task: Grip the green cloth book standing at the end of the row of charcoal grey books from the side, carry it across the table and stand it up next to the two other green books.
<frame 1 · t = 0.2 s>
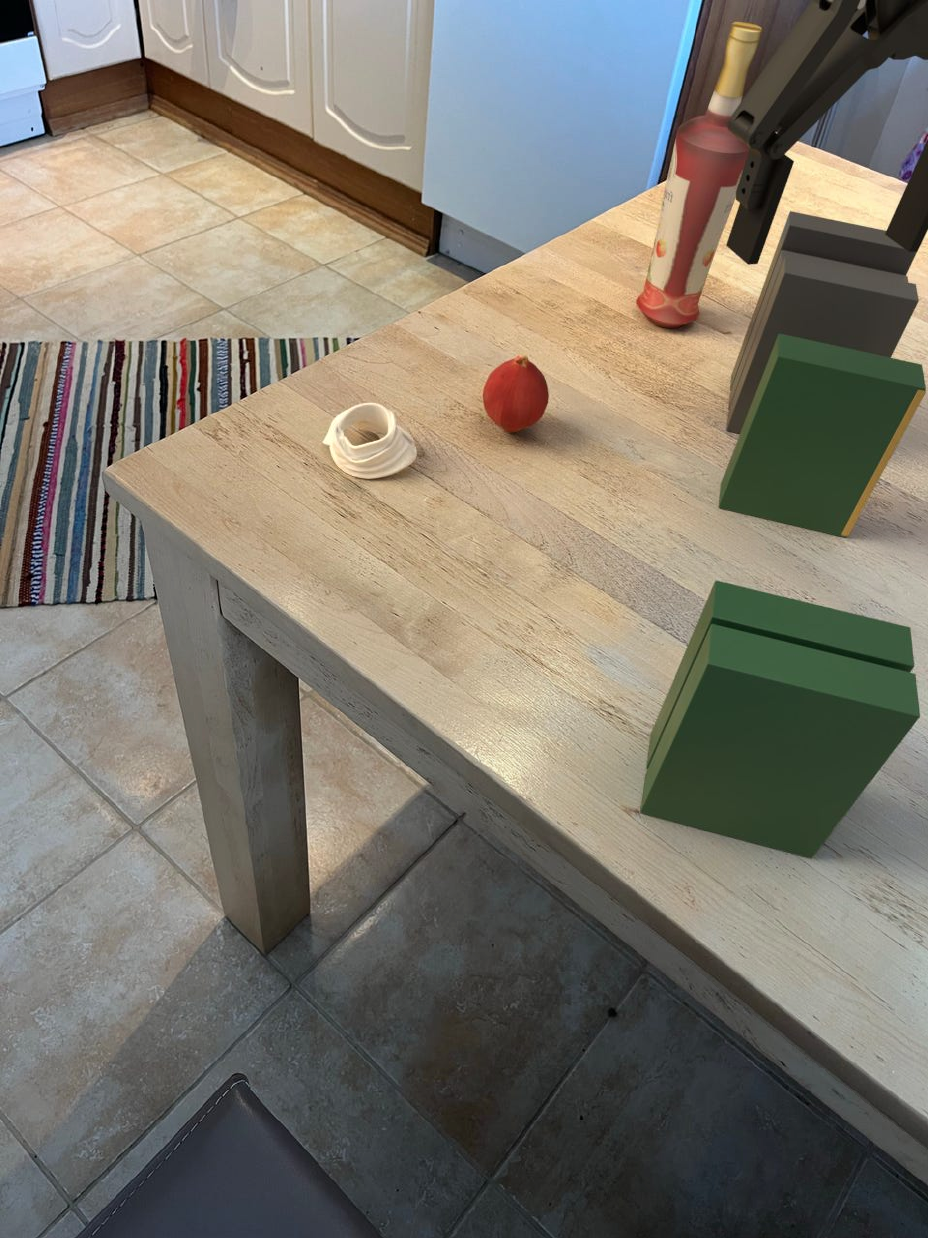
hand: (823, 249, 65), 23 cm above the table, tool pointing down, fingers open, 13 cm apart
white cowl scarf: (370, 458, 82), on the table
green books: (727, 793, 62), on the table
grey books: (784, 414, 93), on the table
onion: (509, 432, 87), on the table
liquor: (664, 319, 103), on the table
green book: (781, 510, 83), on the table
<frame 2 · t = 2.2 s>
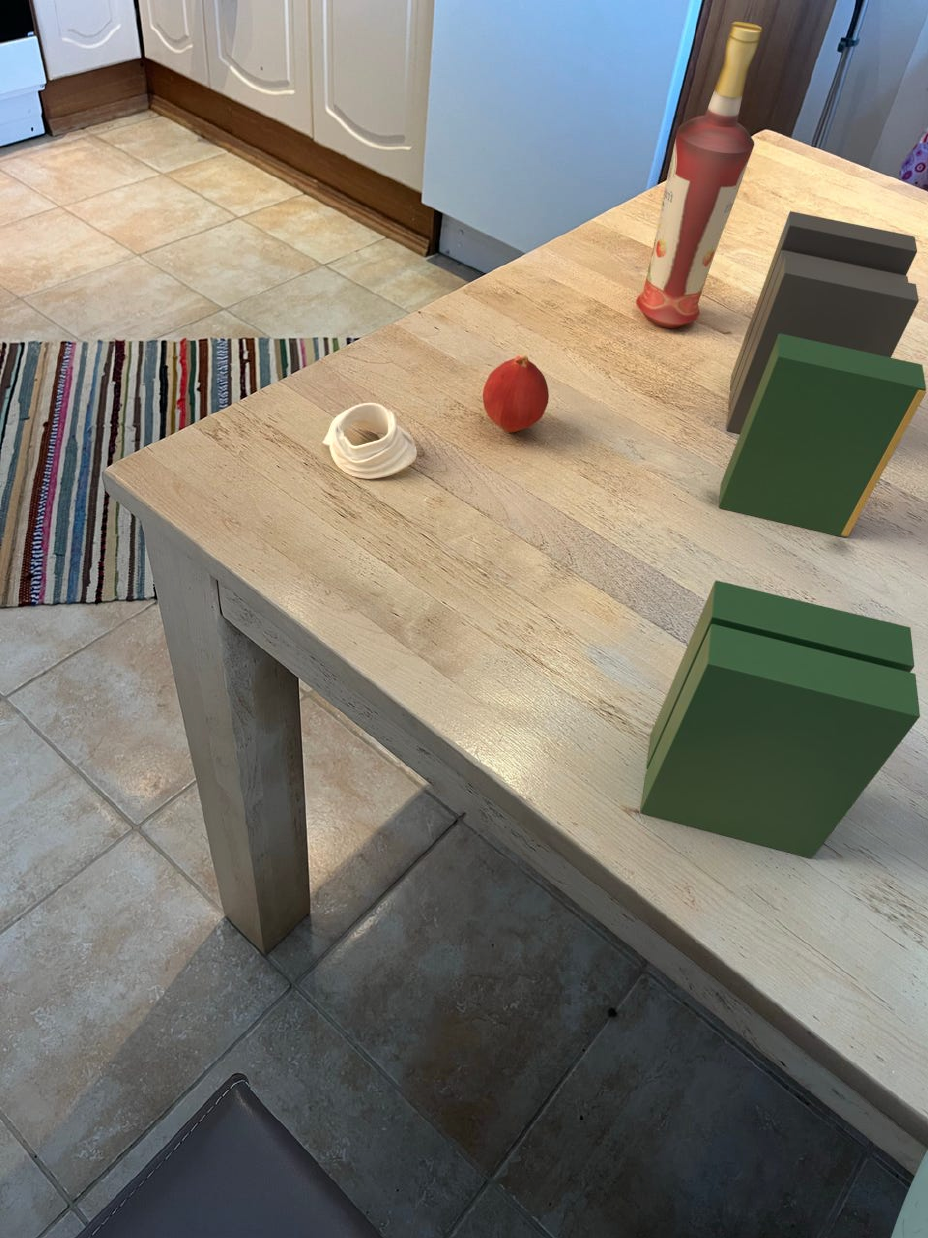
nothing on the table moved.
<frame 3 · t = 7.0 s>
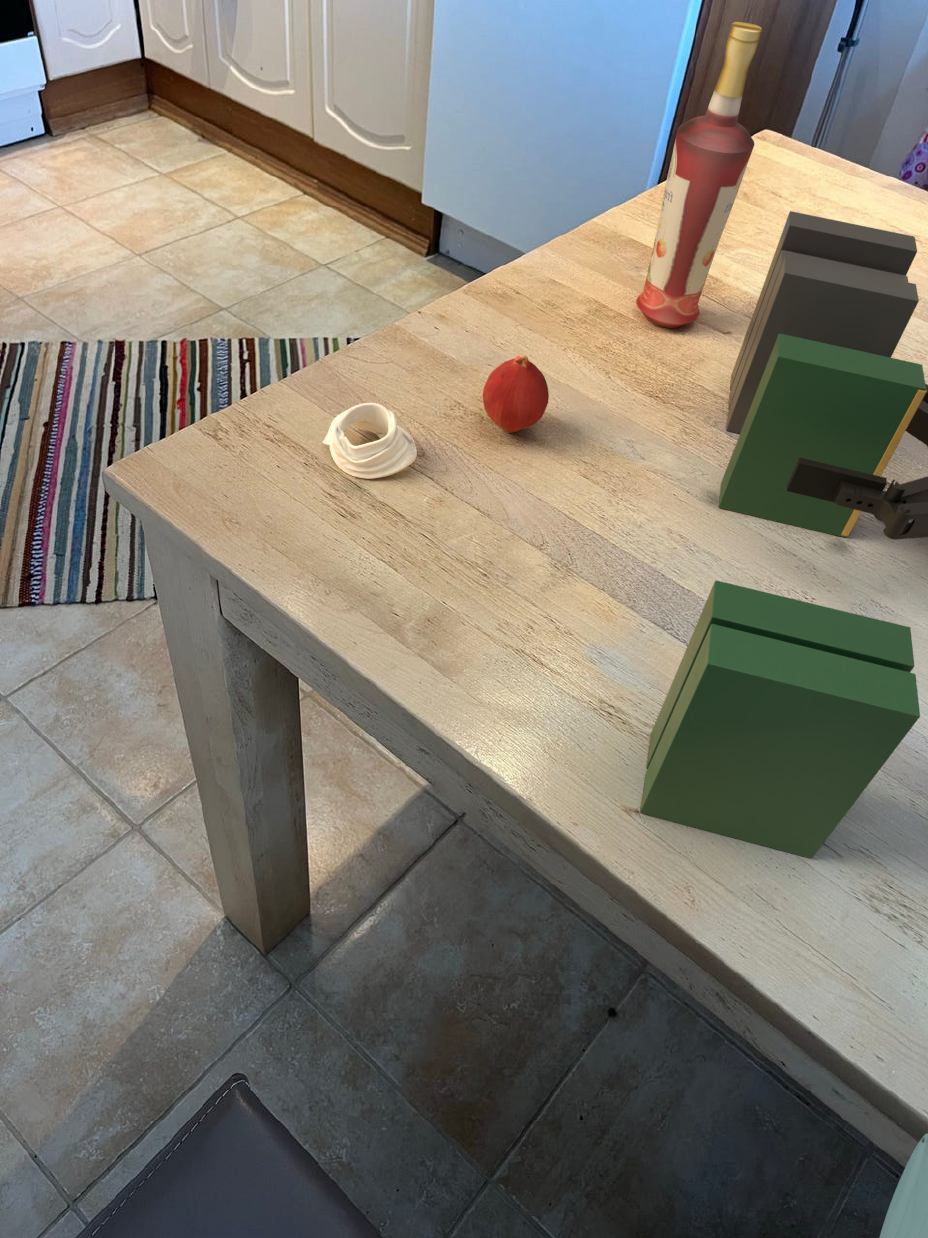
hand: (793, 423, 77), 8 cm above the table, tool horizontal, fingers open, 13 cm apart
nothing on the table moved.
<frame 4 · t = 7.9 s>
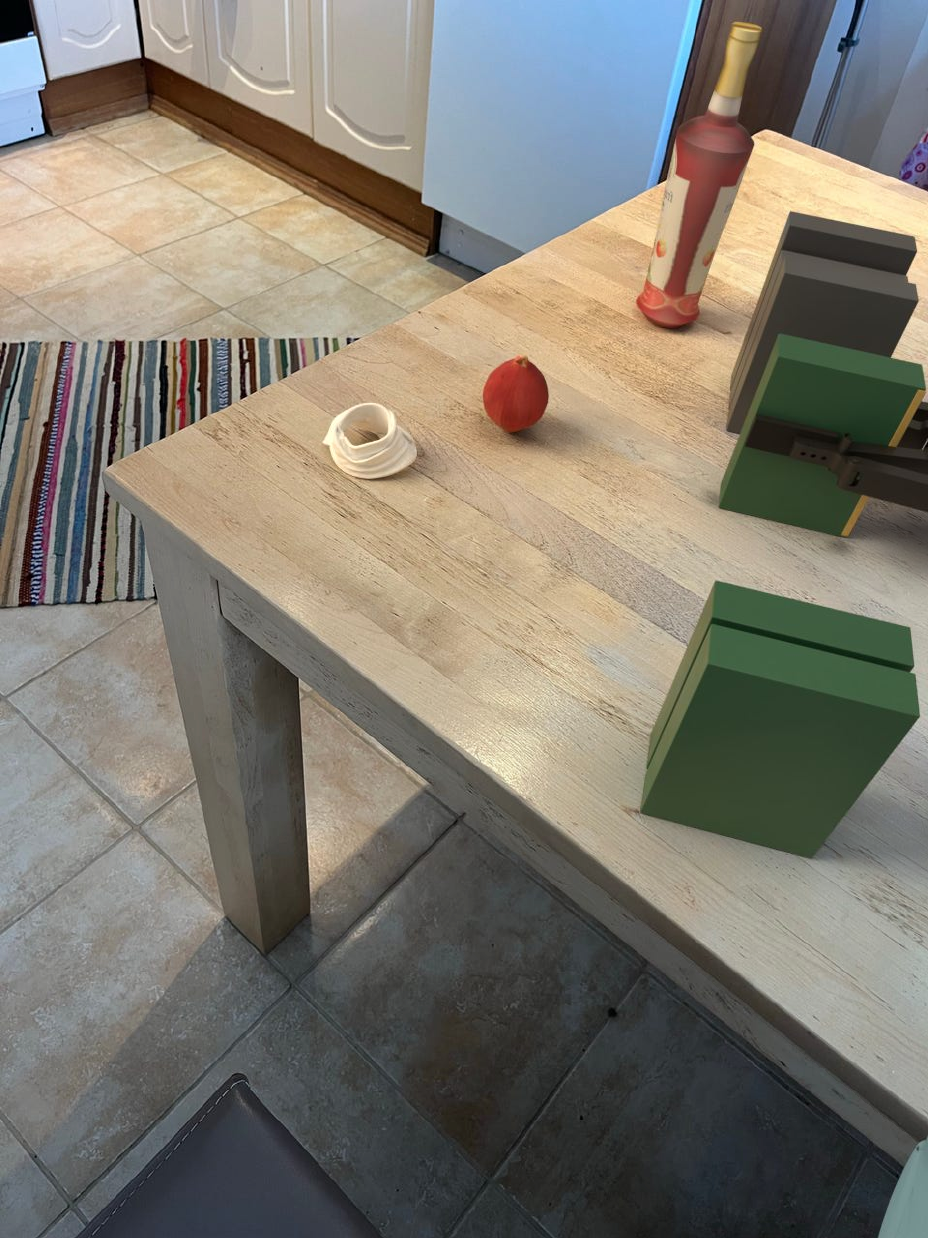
hand: (752, 415, 77), 8 cm above the table, tool horizontal, fingers closed on green book, 3 cm apart
green book: (781, 510, 83), on the table, touching gripper
everything else where it was.
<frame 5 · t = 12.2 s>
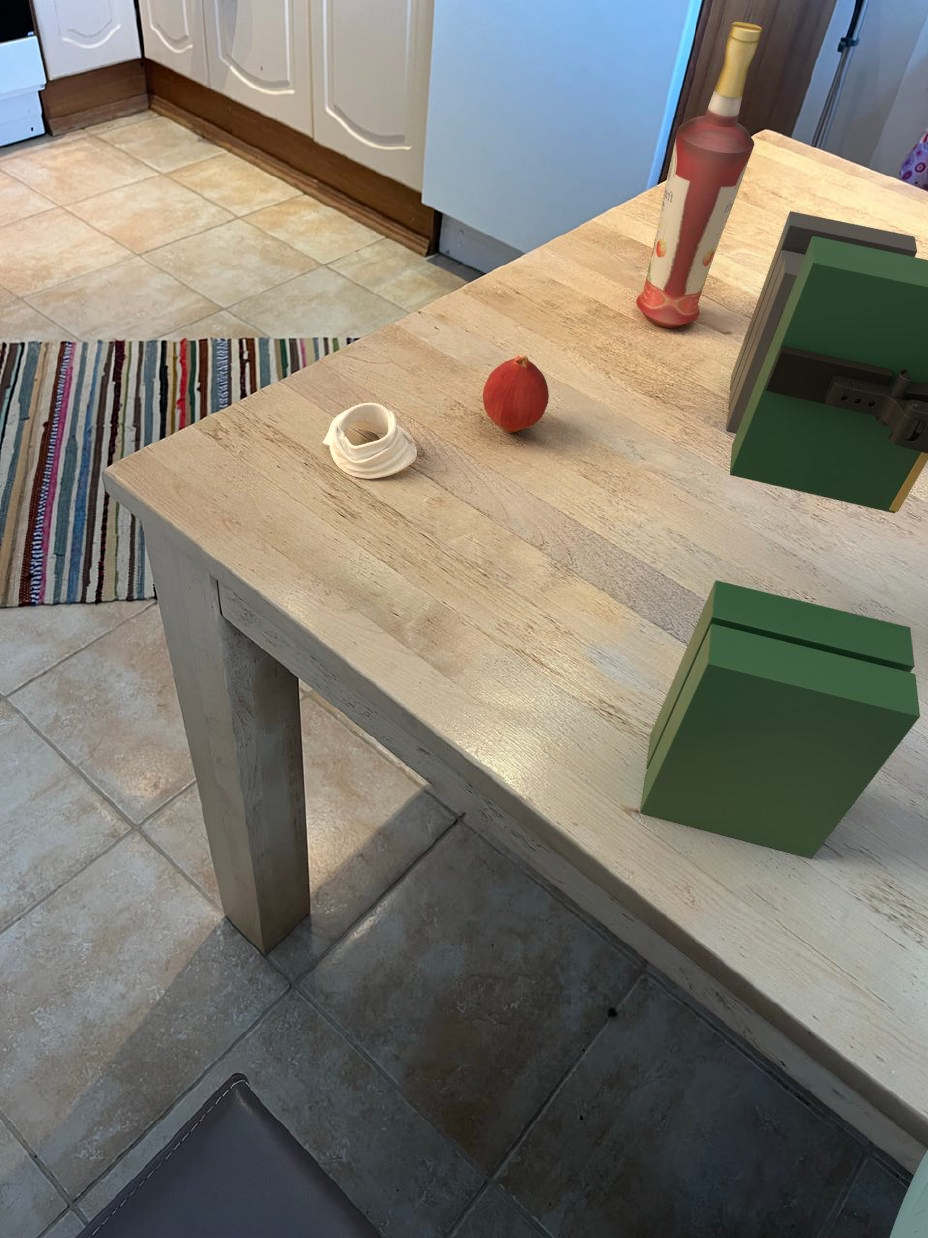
hand: (774, 350, 58), 22 cm above the table, tool horizontal, fingers closed on green book, 3 cm apart
green book: (811, 478, 64), point 13 cm above the table, touching gripper
everything else where it was.
when the fingers open (8 cm above the table, at t = 16.5 s): green book stays where it is, on the table.
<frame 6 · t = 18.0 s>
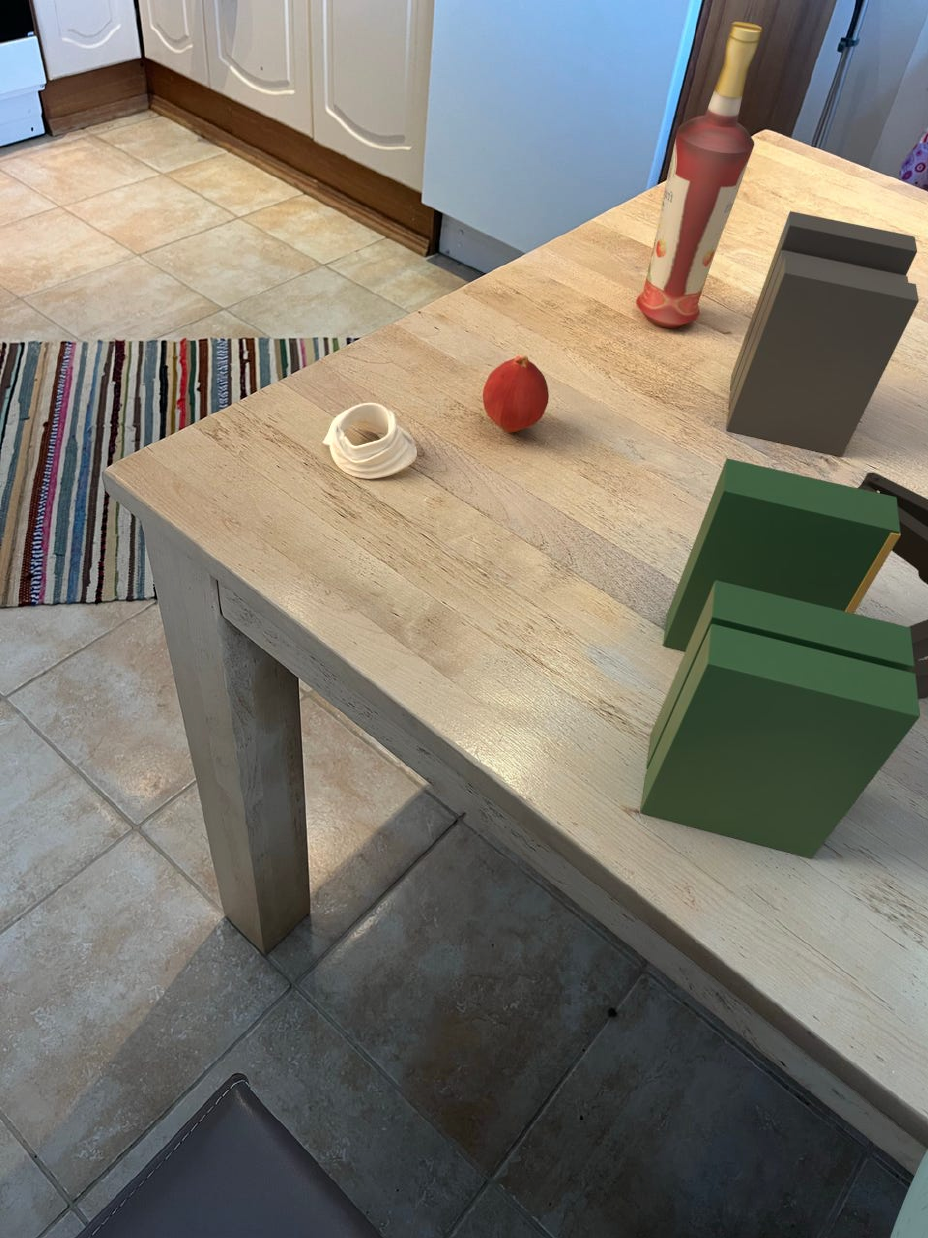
hand: (757, 549, 64), 10 cm above the table, tool horizontal, fingers open, 13 cm apart
green book: (737, 647, 71), on the table
everything else where it was.
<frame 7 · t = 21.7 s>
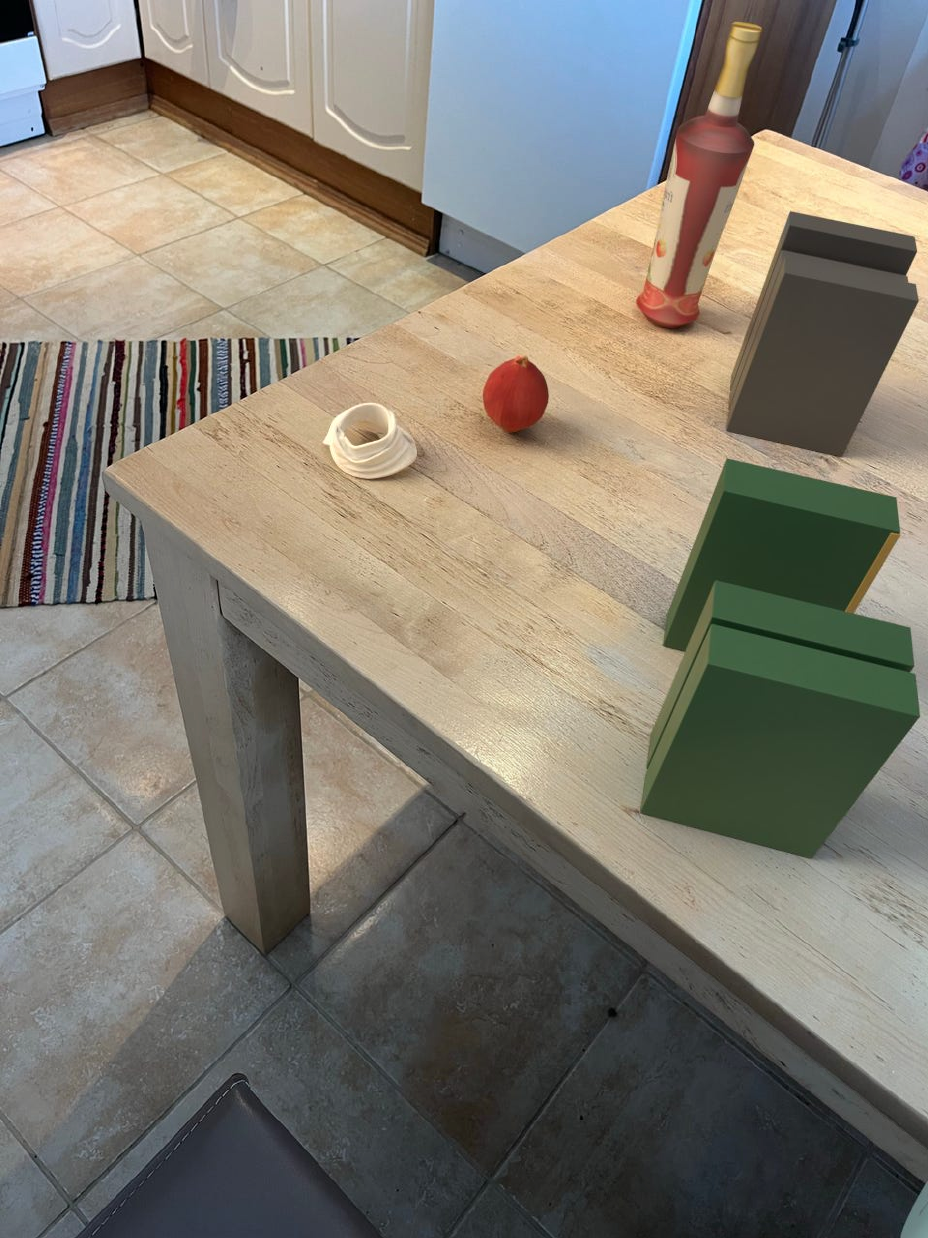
nothing on the table moved.
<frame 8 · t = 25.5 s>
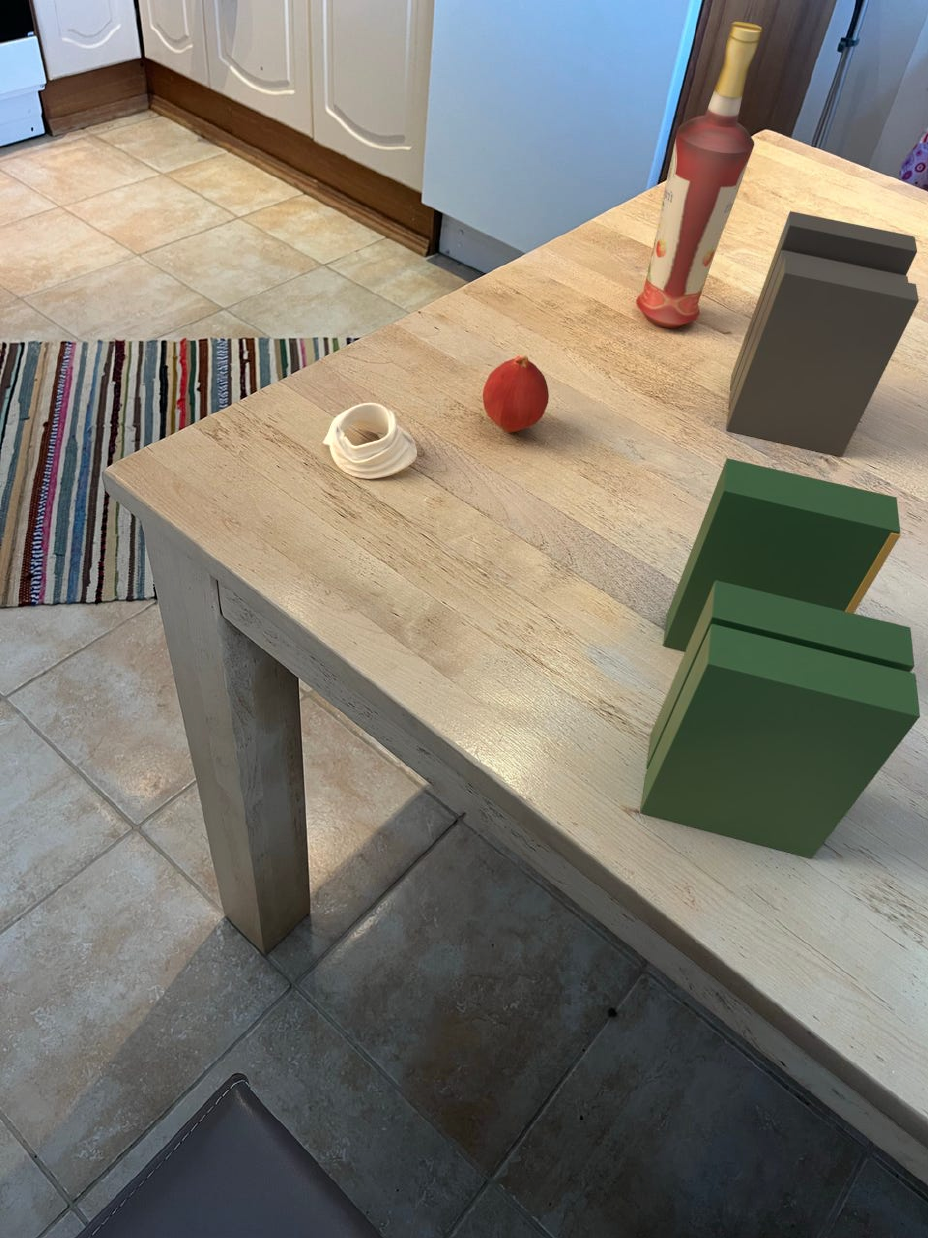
nothing on the table moved.
at the end: green book 13.3 cm from the green books (horizontally); green book moved 17.9 cm from its start; green book tilted 0° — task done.
